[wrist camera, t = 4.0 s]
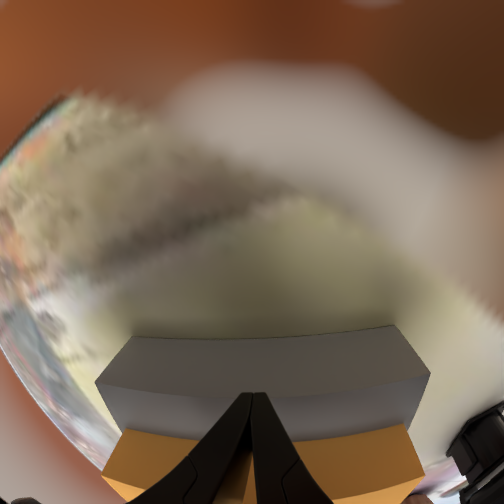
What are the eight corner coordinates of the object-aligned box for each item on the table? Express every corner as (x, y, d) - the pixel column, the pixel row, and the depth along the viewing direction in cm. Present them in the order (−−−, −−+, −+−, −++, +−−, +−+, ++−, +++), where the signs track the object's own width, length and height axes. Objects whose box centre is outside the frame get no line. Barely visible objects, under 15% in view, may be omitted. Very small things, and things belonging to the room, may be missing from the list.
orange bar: (403, 423, 9) (425, 475, 6) (386, 458, 10) (400, 503, 7) (125, 428, 11) (100, 474, 7) (146, 461, 11) (129, 503, 8)
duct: (394, 325, 13) (430, 373, 9) (342, 493, 18) (347, 524, 14) (131, 336, 14) (94, 382, 10) (204, 496, 20) (197, 527, 15)
